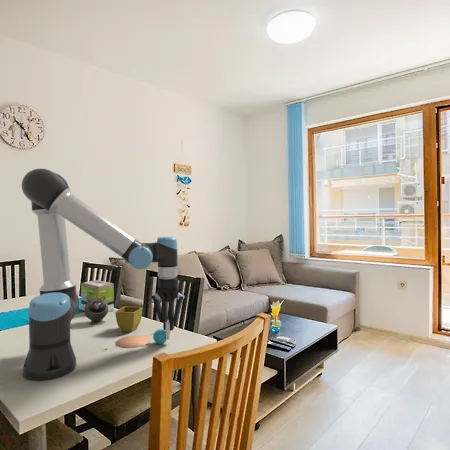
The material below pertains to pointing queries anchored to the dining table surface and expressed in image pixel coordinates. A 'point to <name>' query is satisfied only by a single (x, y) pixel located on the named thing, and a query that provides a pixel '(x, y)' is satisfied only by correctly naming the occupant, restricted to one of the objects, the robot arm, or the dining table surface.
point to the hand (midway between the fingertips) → (168, 338)
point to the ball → (160, 336)
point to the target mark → (132, 341)
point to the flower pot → (128, 318)
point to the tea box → (97, 292)
